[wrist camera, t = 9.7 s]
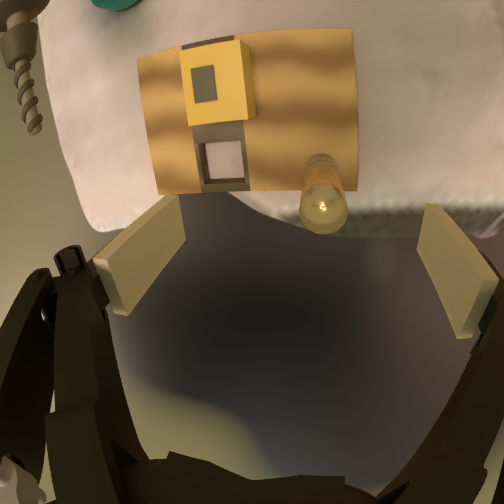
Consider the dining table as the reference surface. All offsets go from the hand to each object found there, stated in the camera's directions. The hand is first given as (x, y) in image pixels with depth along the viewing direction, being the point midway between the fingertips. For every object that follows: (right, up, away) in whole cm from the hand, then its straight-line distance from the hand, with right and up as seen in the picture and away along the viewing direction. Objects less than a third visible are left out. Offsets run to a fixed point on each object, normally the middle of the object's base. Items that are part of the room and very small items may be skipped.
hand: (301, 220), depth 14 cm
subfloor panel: (-3, +14, +15) cm, 21 cm away
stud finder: (-5, +16, +12) cm, 21 cm away
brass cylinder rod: (+5, +7, +15) cm, 18 cm away
